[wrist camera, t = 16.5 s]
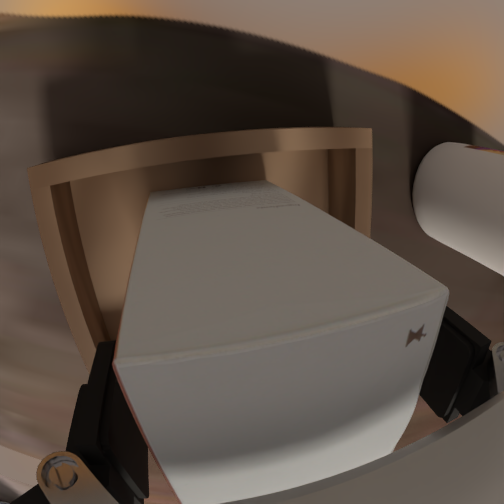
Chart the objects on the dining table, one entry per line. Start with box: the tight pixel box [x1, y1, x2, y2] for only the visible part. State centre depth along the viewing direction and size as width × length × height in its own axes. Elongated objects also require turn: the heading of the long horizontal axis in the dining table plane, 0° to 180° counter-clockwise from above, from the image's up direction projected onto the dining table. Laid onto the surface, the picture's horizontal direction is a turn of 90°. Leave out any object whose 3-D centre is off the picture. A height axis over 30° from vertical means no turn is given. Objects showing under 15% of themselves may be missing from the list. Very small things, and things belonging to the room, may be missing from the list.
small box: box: [112, 180, 449, 504], centre depth 12 cm, size 8×6×13 cm
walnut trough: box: [27, 127, 372, 375], centre depth 17 cm, size 16×13×4 cm
